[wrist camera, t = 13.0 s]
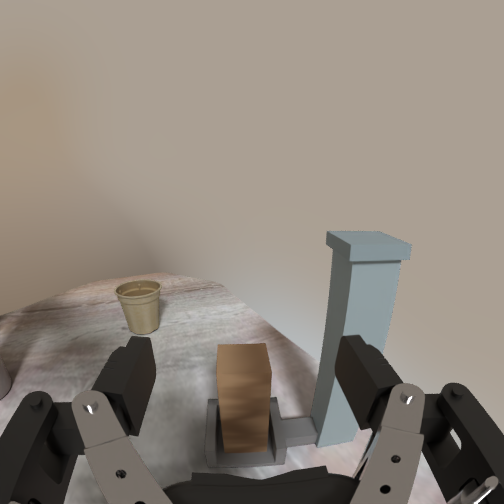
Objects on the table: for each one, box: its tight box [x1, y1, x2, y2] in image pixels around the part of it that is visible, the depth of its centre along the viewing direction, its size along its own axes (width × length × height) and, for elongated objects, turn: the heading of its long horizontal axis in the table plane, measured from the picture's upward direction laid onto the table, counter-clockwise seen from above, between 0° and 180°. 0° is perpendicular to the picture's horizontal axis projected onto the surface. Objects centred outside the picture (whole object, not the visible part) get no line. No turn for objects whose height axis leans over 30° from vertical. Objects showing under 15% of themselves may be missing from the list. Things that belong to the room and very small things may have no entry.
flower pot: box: [114, 279, 162, 334], centre depth 51 cm, size 9×9×9 cm
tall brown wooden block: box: [216, 343, 272, 453], centre depth 25 cm, size 4×4×12 cm
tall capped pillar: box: [204, 231, 411, 467], centre depth 24 cm, size 17×8×23 cm, turn 94°
